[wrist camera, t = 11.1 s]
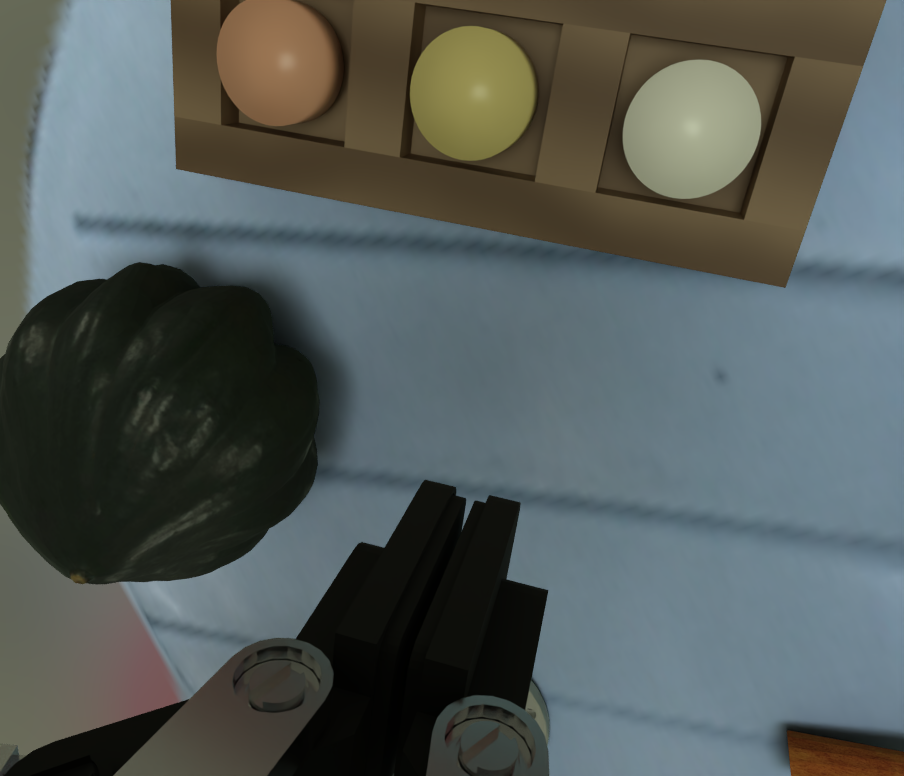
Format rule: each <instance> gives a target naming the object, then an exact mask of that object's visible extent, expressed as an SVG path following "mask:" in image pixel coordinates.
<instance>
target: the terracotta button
mask: <svg viewBox="0 0 904 776" xmlns="http://www.w3.org/2000/svg"><path fill="white" fill-rule="evenodd" d="M217 65H218V71H219V75H220V78H221V81H222V84H223V86H224V88H225V90H226V92H227V94H228V96H229V97H230V99H231V100H232V102H233V103H234V104H235V105H236V106H237V108H238V109H240V110H241V111H242V112H243V113H244V114H245V115H247V116H248V117H249V118H251V119H253V120H255V121H257V122H259V123H262V124H265V125H269V126H285V125H291V124H297V123H303V122H308V121H311V120H314V119H316V118H317V117H319V116H321V115H322V114H323V113H325V112H326V111H327V110H328V109H329V108H330V107H331V105H332V104H333V103H334V101H335V99H336V97H337V96H338V93H339V91H340V88H341V84H342V80H343V72H344V62H343V54H342V50H341V46H340V43H339V40H338V38H337V35H336V33H335V31H334V30H333V28H332V26H331V25H330V24H329V22H328V21H327V20H326V18H325V17H324V16H323V15H322V14H321V13H319V12H318V11H317V10H316V9H314V8H313V7H311V6H309V5H307V4H305V3H302V2H300V1H295V0H245V1H243V2H242V3H240V4H239V5H237V6H236V7H235V8H234V9H233V10H232V11H231V12H230V14H229V15H228V16H227V18H226V19H225V21H224V23H223V25H222V28H221V30H220V33H219V37H218V42H217Z"/></svg>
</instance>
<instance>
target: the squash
mask: <svg viewBox="0 0 904 776" xmlns="http://www.w3.org/2000/svg"><path fill="white" fill-rule="evenodd" d="M319 403H320V402H319V396H318V389H317V380H316V375H315V372H314V369H313V367H312V364H311V363H310V361H309V360H308V359H307V358H306V357H305V356H304V355H303V354H302V353H300V352H299V351H297V350H296V349H294V348H291V347H288V346H285V345H278V344H274V335H273V322H272V315H271V311H270V308H269V306H268V304H267V303H266V301H265V300H264V299H263V298H262V296H261V295H260V294H259V293H257V292H255V291H254V290H251V289H249V288H247V287H241V286H211V287H201V288H200V287H199V285H198V284H197V283H196V282H195V281H194V279H193V278H191V277H190V276H189V275H188V274H186V273H185V272H183V271H182V270H181V269H178V268H175V267H171V266H167V265H164V264H162V265H152V264H148V263H141V262H139V263H134V264H132V265H129V266H127V267H126V268H124V269H122V270H121V271H119V272H118V273H117V274H115V275H114V276H112V277H111V278H109V279H108V280H105V279H94V280H86V281H78V282H76V283H74V284H72V285H69V286H67V287H65V288H63V289H61V290H59V291H57V292H55V293H53V294H51V295H49V296H47V297H46V298H45V299H43V300H42V301H40V302H39V303H38V304H37V305H36V306H34V307H33V308H32V309H31V310H30V312H29V313H28V314H27V315H26V316H25V318H24V319H23V321H22V322H21V324H20V326H19V327H18V328H17V330H16V332H15V333H14V335H13V336H12V338H11V340H10V341H9V343H8V346H7V350H6V354H5V355H4V356H2V357H1V358H0V504H1V506H2V507H3V508H4V510H5V511H6V513H7V514H8V516H9V518H10V519H11V521H12V522H13V524H14V525H15V526H16V528H17V529H18V531H19V532H20V533H21V535H22V536H23V537H24V538H25V539H26V541H27V542H28V543H29V544H30V545H31V546H32V547H33V548H34V549H35V550H36V551H37V552H38V553H39V554H40V555H41V556H42V557H43V558H44V559H45V560H46V561H47V562H48V563H49V564H50V565H51V566H53V567H54V568H55V569H56V570H58V571H59V572H60V573H61V574H63V575H64V576H66V577H68V578H70V579H72V580H73V581H74V582H75V583H80V584H84V583H89V584H109V583H115V582H127V581H132V582H149V581H171V580H179V579H187V578H192V577H197V576H201V575H204V574H207V573H210V572H212V571H214V570H216V569H218V568H220V567H222V566H225V565H227V564H229V563H231V562H233V561H235V560H237V559H239V558H240V557H242V556H244V555H245V554H246V553H248V552H249V551H251V550H252V549H253V548H254V547H255V545H256V544H257V543H258V542H259V541H260V540H261V539H262V538H263V537H264V536H265V534H266V533H267V531H268V529H269V528H271V527H273V526H275V525H276V524H278V523H279V522H280V521H282V520H283V519H285V518H286V517H288V516H289V515H290V514H291V513H292V512H293V511H294V510H295V509H296V508H297V506H298V505H299V504H300V503H301V502H302V501H303V499H304V498H305V497H306V495H307V494H308V492H309V490H310V489H311V487H312V485H313V482H314V479H315V474H316V470H317V466H318V460H317V448H316V444H315V440H314V433H315V430H316V426H317V421H318V415H319Z"/></svg>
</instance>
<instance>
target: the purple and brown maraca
mask: <svg viewBox="0 0 904 776" xmlns="http://www.w3.org/2000/svg"><path fill="white" fill-rule="evenodd" d="M787 738H788V749H789V759H790V769H791V776H904V752H903V751H897V750H892V749H887V748H881V747H876V746H870V745H865V744H860V743H854V742H849V741H843V740H838V739H833V738H827V737H822V736H817V735H811V734H806V733H800V732H795V731H790V730H787Z"/></svg>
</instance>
